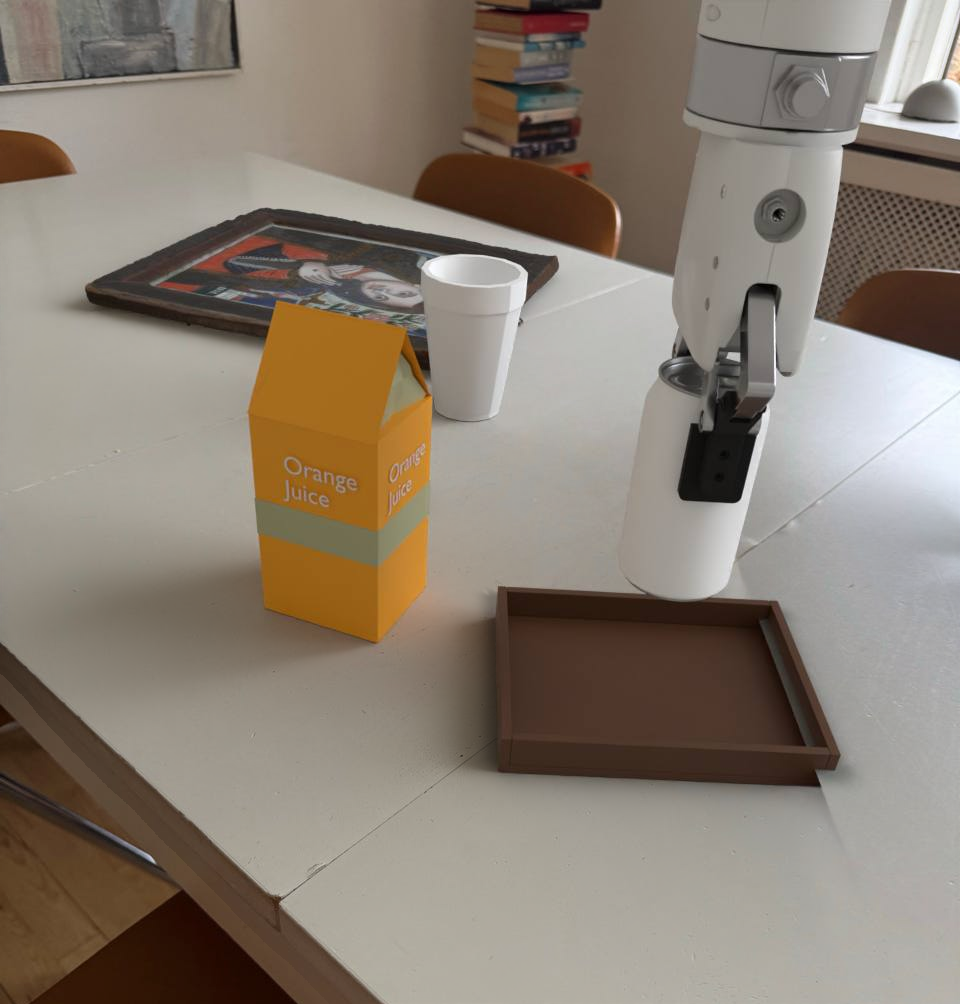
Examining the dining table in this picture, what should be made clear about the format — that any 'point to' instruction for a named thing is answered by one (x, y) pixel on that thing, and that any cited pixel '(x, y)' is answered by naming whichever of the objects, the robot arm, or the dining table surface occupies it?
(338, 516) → the orange juice
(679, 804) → the dining table surface
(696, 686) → the serving tray
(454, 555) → the dining table surface
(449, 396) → the foam cup
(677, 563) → the can
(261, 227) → the framed picture
